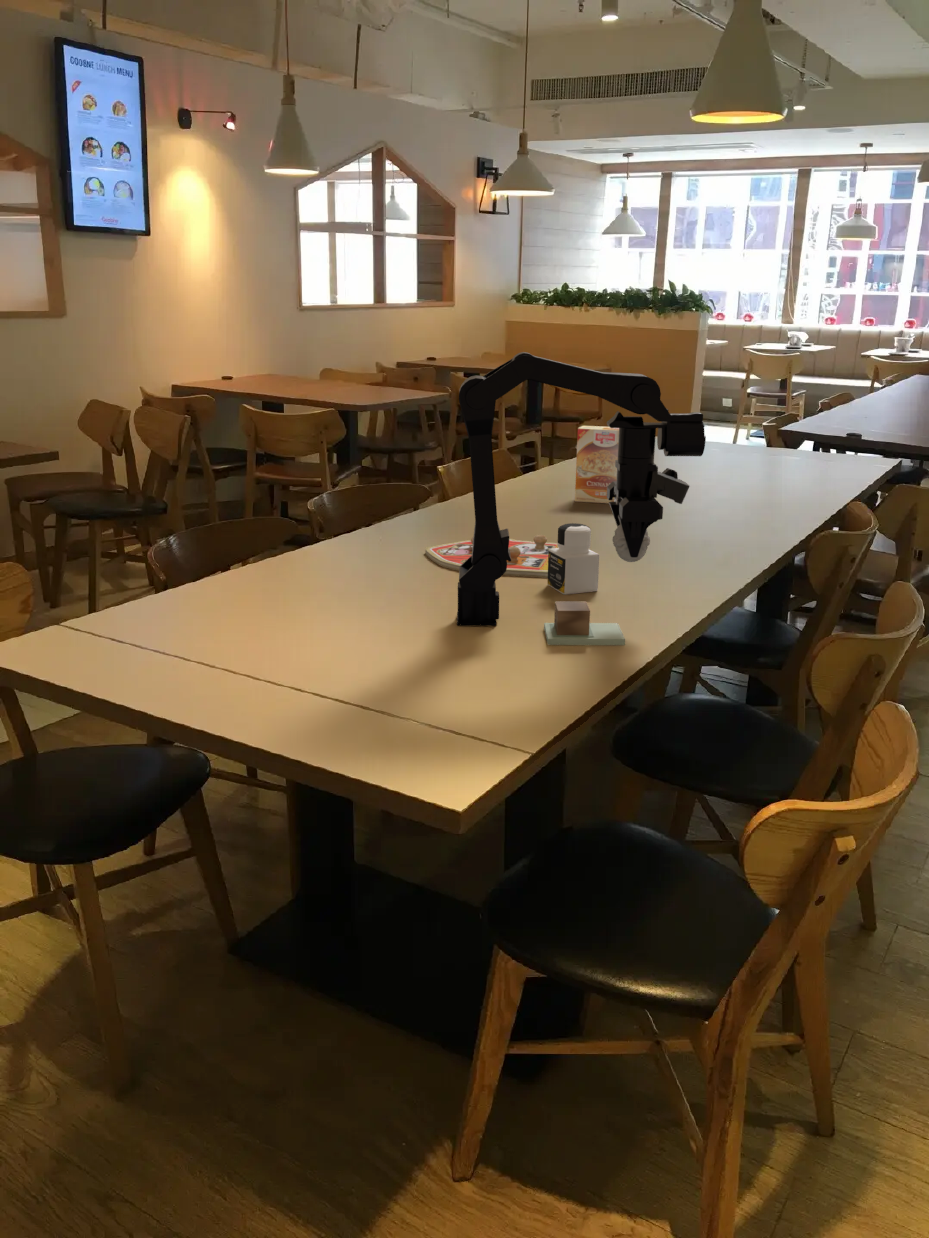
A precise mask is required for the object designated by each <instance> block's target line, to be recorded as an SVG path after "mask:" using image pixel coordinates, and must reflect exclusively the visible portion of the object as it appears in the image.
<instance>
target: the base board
mask: <svg viewBox="0 0 929 1238" xmlns="http://www.w3.org/2000/svg"><path fill="white" fill-rule="evenodd" d="M543 630H544V634H545V639H546V643H547V645H548V646H625V645H626V638H625V636H624V632H623V631H622V629H621V627H620V625H619V622H618V623H617V622H590V623H589V635H557V633H556V629H555V626H554V622H544V623H543Z"/></svg>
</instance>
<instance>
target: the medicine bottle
mask: <svg viewBox="0 0 929 1238" xmlns="http://www.w3.org/2000/svg"><path fill="white" fill-rule="evenodd" d="M591 537H592V528H591V527H590V526H588V525H586V524H583V523H577V522H576V523H573V522H572V523H564V524H562V525H560V526H558V528H557V543H558V544H557V546H558V547H559V548H551V549H549V550H548V578H547V586H548V587H551V588H552V589H553V590H556V591H557V592H559V593H560V594H562V595H564V596H565V595H574V594H583V593H591V592H592V593H593V592H598V590H599V573H600V571H599V570H600V554H599V553H597V552H595V551H593V550H592V549H590V548H591V542H592V541H591V539H592V538H591Z"/></svg>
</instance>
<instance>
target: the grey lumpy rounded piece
mask: <svg viewBox="0 0 929 1238" xmlns="http://www.w3.org/2000/svg"><path fill="white" fill-rule="evenodd" d="M648 532H649V531H648V529H647V530H646V533H645V536H644V539H643V542H642V545H641V548H640V551H639V554H638V557H631V556H630V554H629V550H628V547H627V544H626V541H625V537H624V534H623V531H622V528H621V525H619V526H618V527H617V526H616V528H615V530H614V535H613V536H612V539H611V540H612V544H613V546H614V547H615V551H616V554H617V555H618V557H619V558H620V559H621V560H622V561H625V562H626V563H627V562H628V563H635V562H638V561H640V560H641V559H642V558H643V557H644V556H645V555H646V553H647V550H648V546H649V545H650V543H651V538H650V536H649V533H648Z"/></svg>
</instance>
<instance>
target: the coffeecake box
mask: <svg viewBox="0 0 929 1238" xmlns="http://www.w3.org/2000/svg"><path fill="white" fill-rule="evenodd" d="M576 437H577V440H576V461H575V466H576V467H575V484H574V485H575V486H574V487H575V488H574V502H580V503H594V504H595V503H596V504H609V502H614V497H613V499H612V500H608V498H607V486H608V485H609V484H610V483H612V482H613V481H617V468H616V467H615V460H618V442H619V428H610V427H609V426H601V425H599V426H598V425H596V426H595V425H581V426H579V427H577V436H576Z"/></svg>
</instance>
